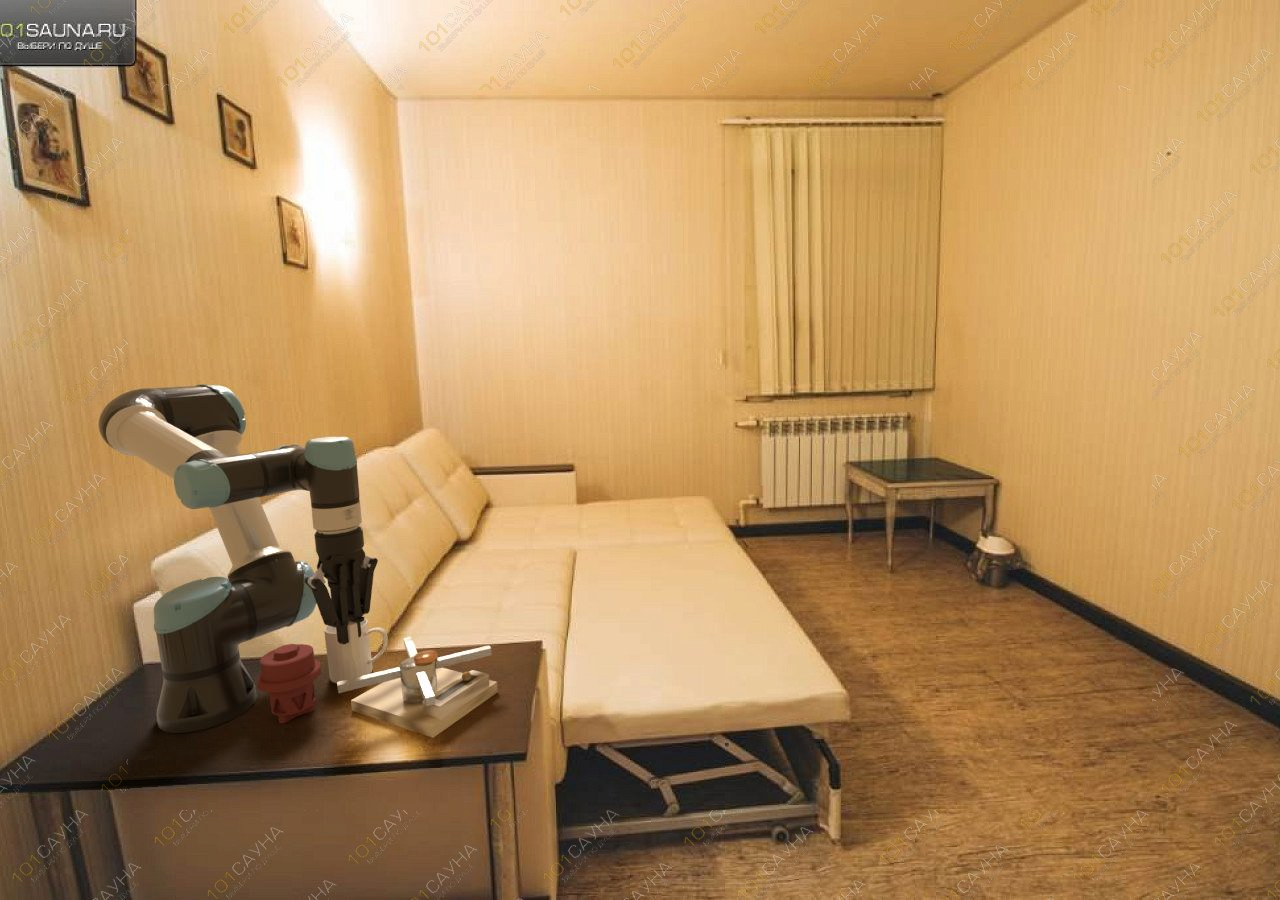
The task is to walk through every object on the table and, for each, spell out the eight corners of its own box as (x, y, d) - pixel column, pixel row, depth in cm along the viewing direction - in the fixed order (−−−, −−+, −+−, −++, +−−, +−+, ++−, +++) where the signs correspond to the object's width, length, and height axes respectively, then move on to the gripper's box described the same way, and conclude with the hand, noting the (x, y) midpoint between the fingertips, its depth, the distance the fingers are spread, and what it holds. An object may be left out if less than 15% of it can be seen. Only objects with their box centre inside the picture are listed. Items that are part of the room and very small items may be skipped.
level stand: (352, 710, 116) (348, 678, 115) (420, 671, 130) (417, 642, 129) (433, 737, 106) (429, 703, 106) (497, 691, 120) (495, 660, 119)
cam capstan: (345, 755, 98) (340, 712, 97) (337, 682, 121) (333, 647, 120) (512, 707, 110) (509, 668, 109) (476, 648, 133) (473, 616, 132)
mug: (321, 684, 126) (315, 633, 125) (344, 665, 134) (338, 616, 132) (380, 685, 125) (375, 633, 123) (400, 665, 133) (395, 617, 131)
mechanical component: (337, 700, 120) (299, 731, 110) (290, 697, 122) (248, 727, 112) (330, 637, 118) (290, 663, 108) (282, 635, 120) (239, 660, 110)
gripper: (317, 541, 103) (332, 679, 106) (384, 521, 114) (396, 646, 118) (288, 535, 106) (303, 669, 110) (356, 516, 118) (368, 638, 121)
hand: (351, 657), depth 114 cm, fingers closed
